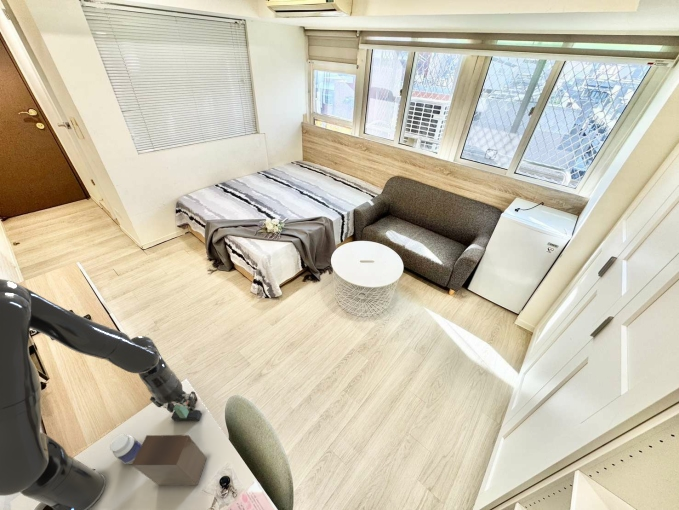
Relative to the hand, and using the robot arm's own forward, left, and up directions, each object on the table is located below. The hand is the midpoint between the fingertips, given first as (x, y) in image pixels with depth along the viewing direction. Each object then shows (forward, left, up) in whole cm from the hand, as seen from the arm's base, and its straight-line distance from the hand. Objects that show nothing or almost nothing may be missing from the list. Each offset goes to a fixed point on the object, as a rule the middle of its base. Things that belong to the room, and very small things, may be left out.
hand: (182, 409), depth 93 cm
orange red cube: (+3, +3, -6) cm, 7 cm away
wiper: (0, 0, -6) cm, 6 cm away
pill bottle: (-15, +8, -6) cm, 18 cm away
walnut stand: (-13, -11, -6) cm, 18 cm away
